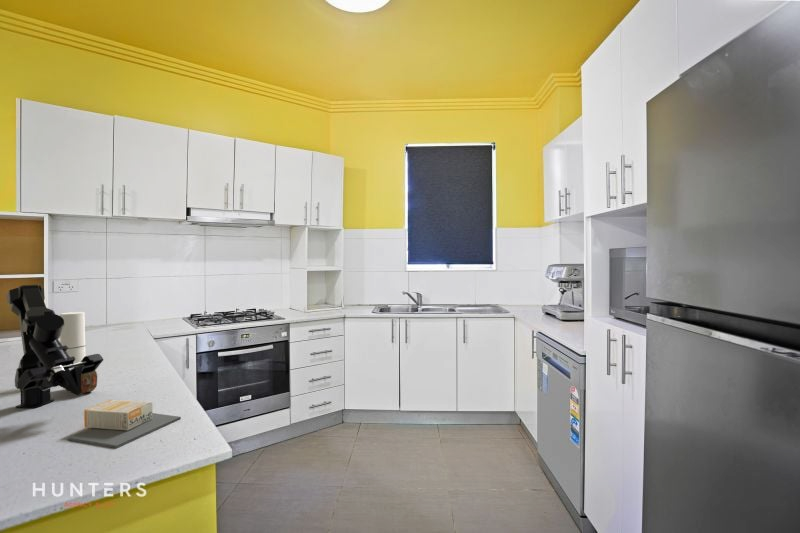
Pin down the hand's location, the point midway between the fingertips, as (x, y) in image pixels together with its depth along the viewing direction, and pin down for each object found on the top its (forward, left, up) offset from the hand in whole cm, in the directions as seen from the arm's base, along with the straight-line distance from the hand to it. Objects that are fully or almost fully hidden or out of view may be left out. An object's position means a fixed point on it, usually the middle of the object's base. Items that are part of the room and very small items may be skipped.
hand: (79, 394), depth 109 cm
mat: (+17, -5, -7) cm, 19 cm away
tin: (-22, +26, -8) cm, 35 cm away
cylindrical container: (-35, +38, -8) cm, 52 cm away
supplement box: (+7, -2, -4) cm, 8 cm away
